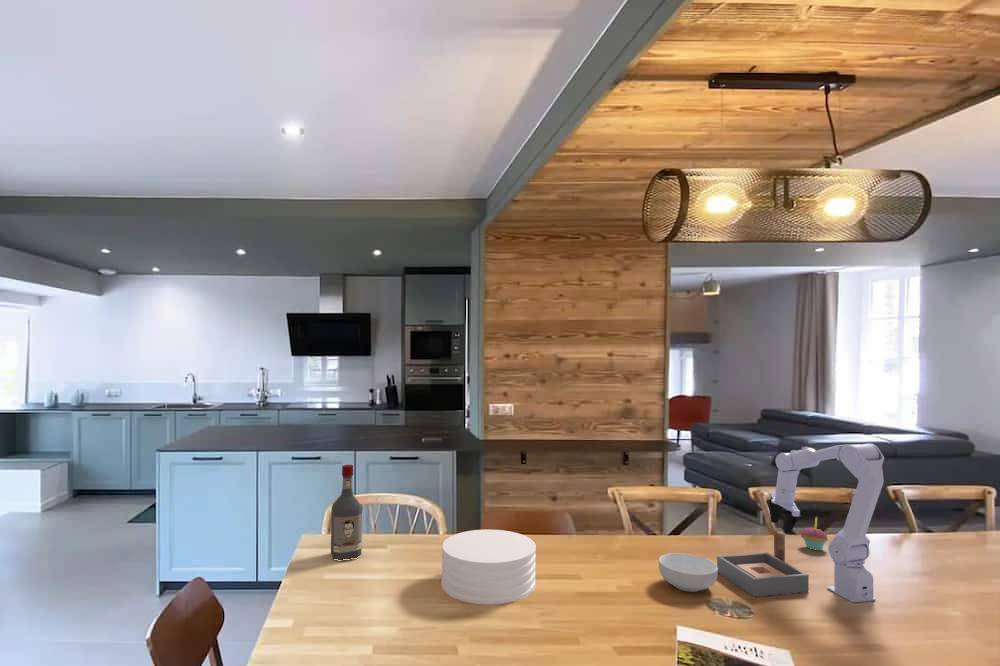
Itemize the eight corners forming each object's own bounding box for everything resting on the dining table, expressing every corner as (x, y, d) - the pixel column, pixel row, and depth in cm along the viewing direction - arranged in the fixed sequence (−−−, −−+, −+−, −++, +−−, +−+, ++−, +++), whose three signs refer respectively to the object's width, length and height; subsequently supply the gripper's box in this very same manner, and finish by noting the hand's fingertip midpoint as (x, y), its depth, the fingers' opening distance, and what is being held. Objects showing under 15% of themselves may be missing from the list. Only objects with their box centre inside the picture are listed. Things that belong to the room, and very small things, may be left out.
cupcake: (832, 553, 195) (832, 518, 195) (808, 552, 195) (808, 518, 195) (819, 544, 203) (819, 511, 204) (795, 543, 204) (795, 510, 204)
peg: (787, 564, 184) (787, 534, 184) (778, 565, 183) (778, 534, 183) (780, 560, 187) (780, 530, 187) (771, 561, 186) (771, 531, 186)
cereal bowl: (722, 602, 156) (722, 576, 156) (661, 595, 159) (661, 571, 159) (712, 577, 173) (712, 554, 173) (656, 572, 176) (656, 550, 176)
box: (808, 592, 163) (808, 574, 163) (754, 597, 159) (754, 579, 159) (766, 568, 180) (766, 552, 181) (717, 571, 177) (717, 556, 177)
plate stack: (422, 591, 161) (423, 551, 161) (472, 559, 185) (472, 524, 186) (509, 613, 148) (509, 570, 148) (549, 576, 172) (550, 538, 173)
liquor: (329, 553, 188) (331, 464, 189) (357, 549, 192) (358, 462, 193) (333, 562, 180) (335, 469, 181) (362, 558, 184) (364, 467, 185)
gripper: (762, 479, 190) (757, 517, 192) (786, 497, 176) (781, 537, 178) (782, 480, 191) (777, 517, 193) (808, 497, 177) (802, 538, 178)
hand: (780, 527), depth 185 cm, fingers open, 7 cm apart
